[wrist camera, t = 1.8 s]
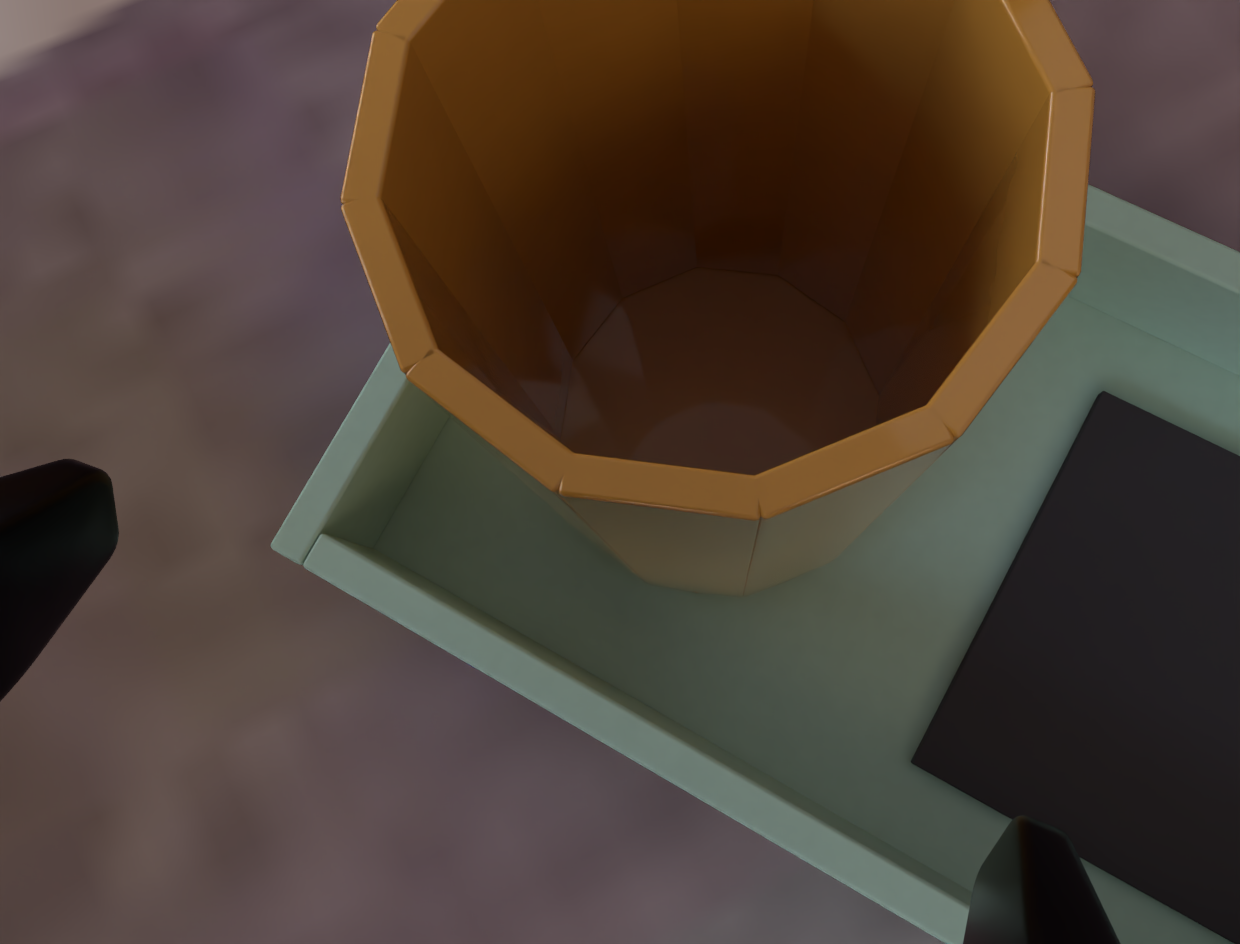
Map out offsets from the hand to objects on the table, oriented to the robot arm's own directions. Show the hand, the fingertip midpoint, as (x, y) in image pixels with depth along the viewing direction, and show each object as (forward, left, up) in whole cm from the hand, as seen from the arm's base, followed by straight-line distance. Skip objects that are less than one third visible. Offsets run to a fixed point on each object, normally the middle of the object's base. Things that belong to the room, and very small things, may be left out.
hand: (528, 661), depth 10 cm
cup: (+5, -1, -11) cm, 12 cm away
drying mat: (+1, -11, -11) cm, 15 cm away
